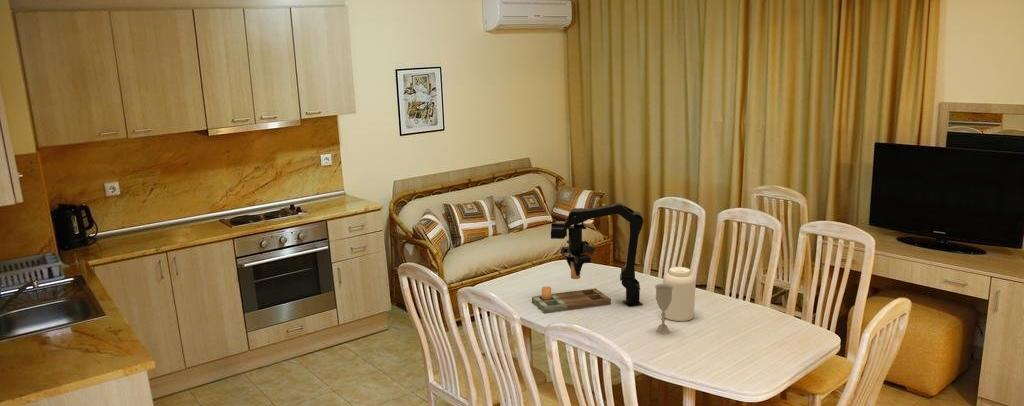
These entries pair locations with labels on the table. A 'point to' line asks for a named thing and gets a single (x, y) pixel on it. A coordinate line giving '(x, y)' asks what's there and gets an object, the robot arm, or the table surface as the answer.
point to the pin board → (572, 300)
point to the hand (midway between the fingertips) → (575, 274)
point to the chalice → (663, 303)
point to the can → (680, 294)
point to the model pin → (546, 293)
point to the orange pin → (573, 274)
